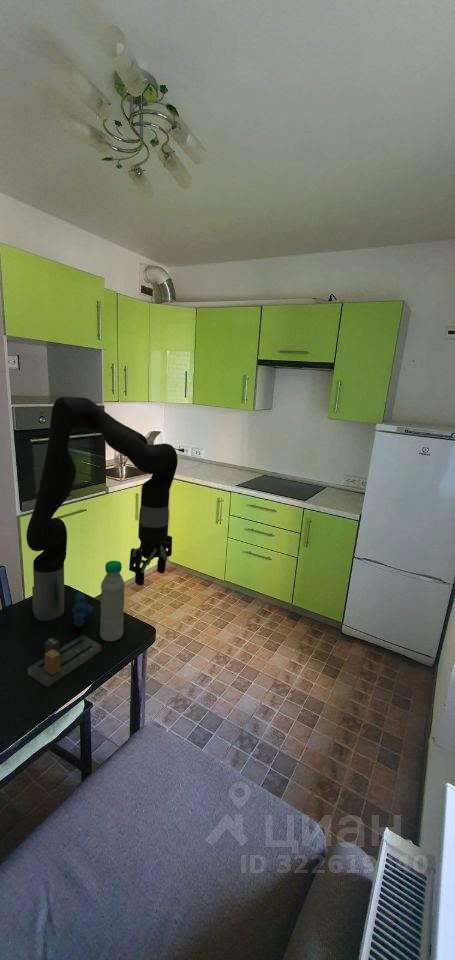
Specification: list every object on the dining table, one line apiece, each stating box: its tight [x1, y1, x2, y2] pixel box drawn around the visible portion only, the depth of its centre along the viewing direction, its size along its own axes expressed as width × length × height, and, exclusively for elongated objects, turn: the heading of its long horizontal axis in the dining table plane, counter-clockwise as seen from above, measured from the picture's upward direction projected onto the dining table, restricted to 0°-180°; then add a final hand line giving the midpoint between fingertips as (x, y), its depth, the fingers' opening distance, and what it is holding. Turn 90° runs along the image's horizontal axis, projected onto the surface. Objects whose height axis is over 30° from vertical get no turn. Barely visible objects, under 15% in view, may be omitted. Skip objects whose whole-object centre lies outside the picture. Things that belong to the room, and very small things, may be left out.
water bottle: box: [99, 560, 126, 642], centre depth 120 cm, size 7×7×25 cm
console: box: [27, 634, 102, 688], centre depth 110 cm, size 8×18×2 cm, turn 150°
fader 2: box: [44, 649, 60, 675], centre depth 102 cm, size 3×2×5 cm
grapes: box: [71, 591, 95, 628], centre depth 125 cm, size 12×7×12 cm, turn 18°
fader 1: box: [44, 637, 61, 654], centre depth 107 cm, size 3×2×5 cm
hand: (150, 578), depth 103 cm, fingers open, 8 cm apart
